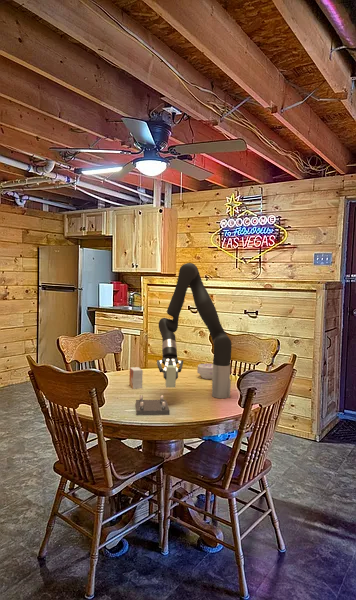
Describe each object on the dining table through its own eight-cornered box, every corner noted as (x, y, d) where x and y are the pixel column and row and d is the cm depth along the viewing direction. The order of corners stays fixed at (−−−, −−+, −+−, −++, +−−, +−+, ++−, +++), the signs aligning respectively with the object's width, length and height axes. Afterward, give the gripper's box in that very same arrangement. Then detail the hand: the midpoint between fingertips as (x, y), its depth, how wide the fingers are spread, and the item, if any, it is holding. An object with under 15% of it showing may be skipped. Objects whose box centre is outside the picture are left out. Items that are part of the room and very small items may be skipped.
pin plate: (166, 403, 209) (166, 393, 208) (169, 414, 192) (169, 404, 192) (135, 403, 207) (136, 393, 207) (136, 415, 190) (136, 404, 190)
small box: (129, 385, 242) (129, 367, 241) (138, 384, 244) (138, 366, 243) (132, 389, 234) (133, 370, 234) (142, 388, 236) (142, 369, 236)
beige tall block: (174, 384, 211) (175, 365, 210) (175, 387, 206) (176, 367, 205) (165, 384, 210) (166, 365, 210) (166, 387, 205) (166, 367, 205)
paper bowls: (209, 373, 277) (210, 362, 277) (226, 378, 266) (226, 366, 265) (192, 376, 268) (192, 364, 267) (208, 381, 256) (208, 368, 256)
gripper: (156, 345, 214) (156, 374, 203) (183, 346, 216) (186, 374, 204) (155, 354, 219) (156, 382, 208) (182, 354, 221) (184, 382, 210)
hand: (170, 378), depth 206 cm, fingers closed on beige tall block, 4 cm apart
